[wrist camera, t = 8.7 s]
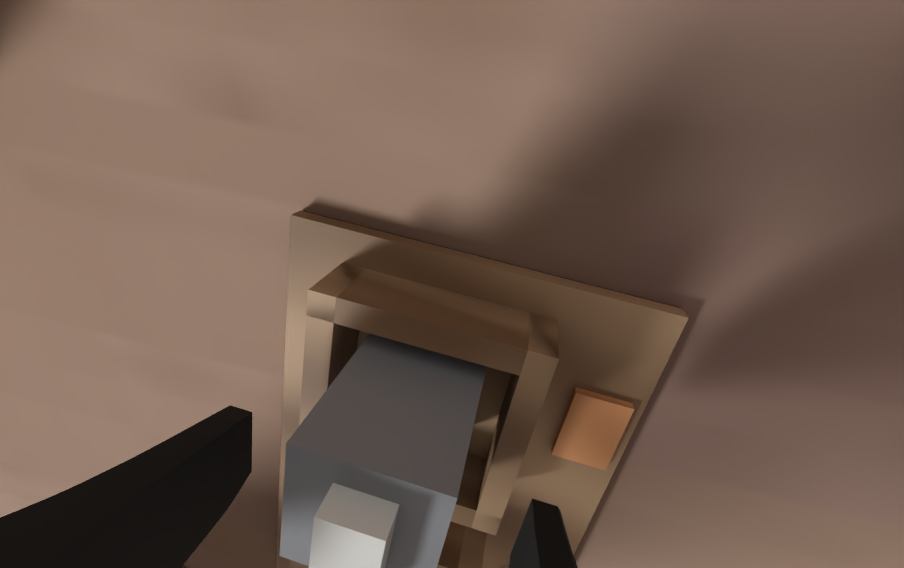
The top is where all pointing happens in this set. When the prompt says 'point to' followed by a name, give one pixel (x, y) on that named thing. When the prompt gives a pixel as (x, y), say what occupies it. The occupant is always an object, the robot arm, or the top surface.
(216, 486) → the robot arm
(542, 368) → the socket board
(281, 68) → the top surface
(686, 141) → the top surface
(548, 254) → the top surface
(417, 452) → the plug
